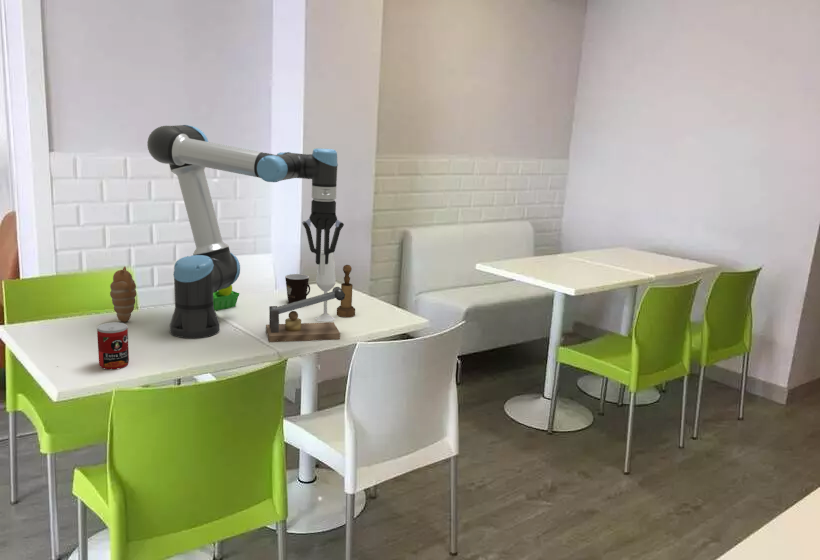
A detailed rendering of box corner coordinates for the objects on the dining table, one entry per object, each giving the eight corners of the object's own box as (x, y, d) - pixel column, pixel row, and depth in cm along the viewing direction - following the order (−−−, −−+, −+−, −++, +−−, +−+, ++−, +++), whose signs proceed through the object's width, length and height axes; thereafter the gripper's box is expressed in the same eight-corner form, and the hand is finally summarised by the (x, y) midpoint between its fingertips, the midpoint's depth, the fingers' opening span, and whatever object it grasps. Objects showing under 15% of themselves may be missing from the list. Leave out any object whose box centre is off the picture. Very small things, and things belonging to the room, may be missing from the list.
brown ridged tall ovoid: (134, 325, 234) (132, 271, 229) (108, 325, 232) (106, 270, 228) (140, 318, 242) (138, 265, 238) (115, 317, 241) (112, 264, 237)
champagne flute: (336, 321, 249) (338, 252, 244) (317, 322, 247) (318, 252, 241) (332, 315, 255) (334, 248, 250) (313, 316, 253) (314, 248, 248)
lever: (272, 319, 226) (269, 310, 225) (270, 314, 231) (268, 305, 230) (345, 299, 230) (343, 290, 230) (342, 294, 236) (340, 285, 235)
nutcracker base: (269, 342, 224) (269, 314, 222) (265, 330, 235) (266, 303, 233) (340, 339, 230) (340, 311, 228) (333, 328, 241) (334, 301, 239)
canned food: (103, 371, 194) (101, 332, 191) (95, 362, 200) (93, 324, 197) (132, 367, 198) (131, 328, 196) (124, 358, 204) (122, 320, 202)
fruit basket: (227, 302, 266) (227, 272, 263) (242, 307, 260) (242, 276, 258) (200, 307, 257) (200, 276, 255) (215, 313, 252) (215, 281, 249)
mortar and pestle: (354, 318, 254) (355, 267, 250) (335, 317, 254) (336, 266, 250) (355, 312, 260) (357, 263, 256) (337, 311, 260) (339, 262, 256)
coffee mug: (283, 300, 272) (283, 274, 270) (306, 299, 275) (306, 273, 272) (288, 308, 261) (288, 281, 259) (311, 307, 264) (312, 281, 262)
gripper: (304, 200, 219) (302, 277, 224) (347, 201, 222) (344, 276, 228) (301, 197, 226) (299, 271, 231) (342, 198, 229) (339, 271, 235)
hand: (321, 274), depth 230 cm, fingers closed
